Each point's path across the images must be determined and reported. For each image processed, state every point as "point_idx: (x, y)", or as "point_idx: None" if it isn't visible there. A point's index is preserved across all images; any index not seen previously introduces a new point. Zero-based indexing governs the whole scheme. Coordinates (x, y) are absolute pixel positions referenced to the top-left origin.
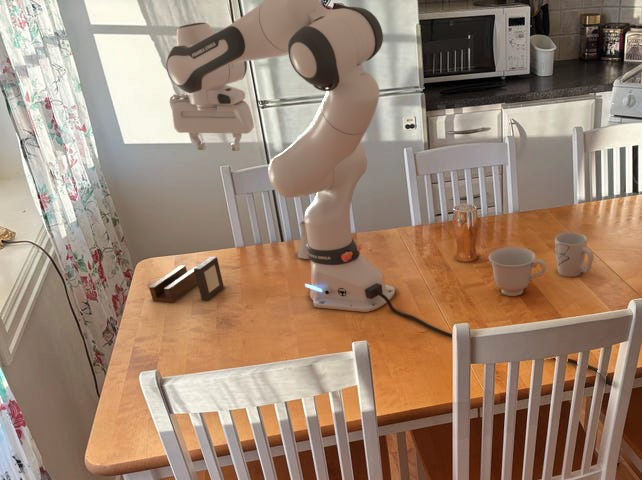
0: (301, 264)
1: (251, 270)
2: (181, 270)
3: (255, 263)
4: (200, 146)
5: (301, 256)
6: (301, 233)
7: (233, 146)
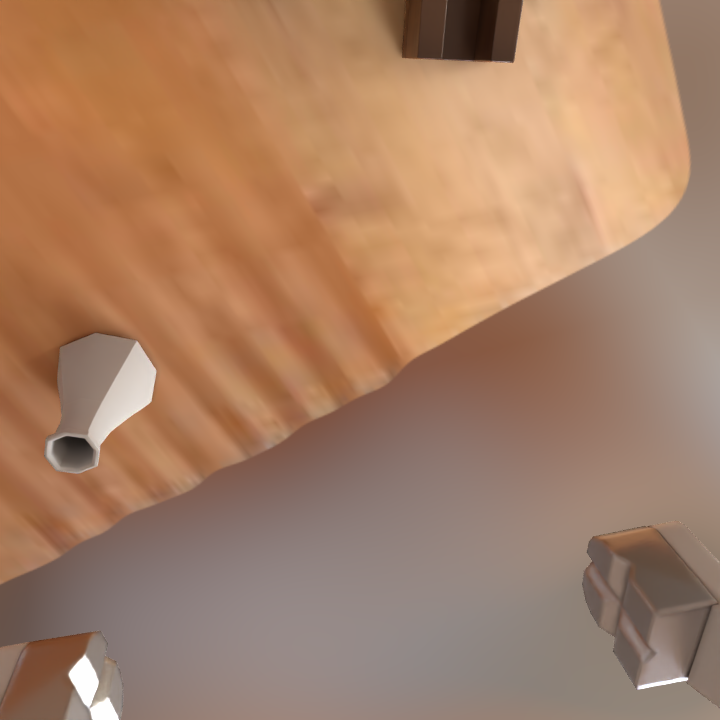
0: (82, 290)
1: (252, 195)
2: (493, 21)
3: (275, 259)
4: (649, 570)
5: (114, 340)
6: (97, 410)
7: (21, 705)
